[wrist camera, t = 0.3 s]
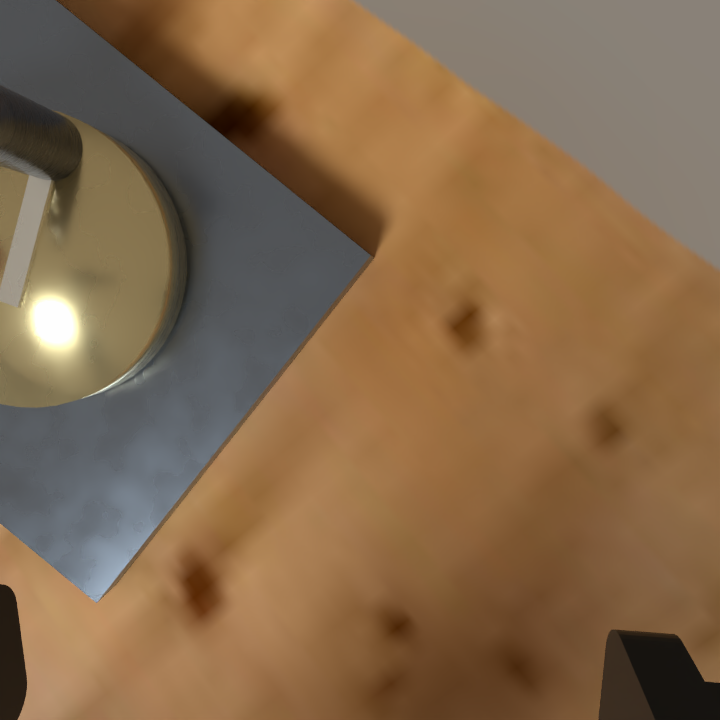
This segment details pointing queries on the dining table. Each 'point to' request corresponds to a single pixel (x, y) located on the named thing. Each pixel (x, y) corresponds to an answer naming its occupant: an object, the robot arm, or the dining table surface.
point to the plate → (193, 325)
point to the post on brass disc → (79, 258)
